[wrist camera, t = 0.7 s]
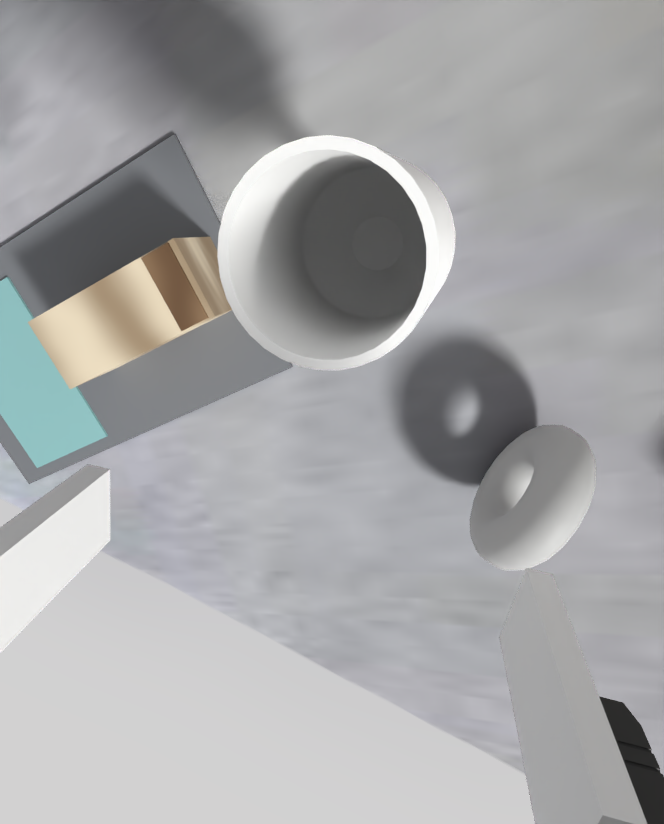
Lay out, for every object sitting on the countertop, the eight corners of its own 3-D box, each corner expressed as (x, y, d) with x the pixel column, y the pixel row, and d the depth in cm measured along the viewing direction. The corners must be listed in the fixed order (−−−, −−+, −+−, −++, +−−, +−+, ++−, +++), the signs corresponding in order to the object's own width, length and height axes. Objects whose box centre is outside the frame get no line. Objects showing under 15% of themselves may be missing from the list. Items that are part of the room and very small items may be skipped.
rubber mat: (-90, 307, 40) (-93, 307, 40) (175, 134, 33) (173, 134, 32) (31, 482, 45) (29, 483, 44) (292, 366, 37) (291, 367, 37)
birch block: (116, 368, 39) (68, 390, 34) (80, 309, 38) (25, 322, 32) (244, 303, 35) (213, 316, 30) (210, 236, 34) (172, 238, 29)
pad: (-61, 320, 40) (-64, 320, 40) (8, 277, 38) (6, 277, 38) (38, 467, 44) (37, 468, 43) (108, 435, 41) (106, 436, 41)
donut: (492, 521, 38) (515, 614, 29) (454, 499, 38) (465, 585, 29) (579, 419, 35) (637, 489, 25) (537, 394, 35) (580, 455, 25)
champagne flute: (424, 303, 34) (430, 446, 11) (329, 277, 34) (158, 367, 12) (456, 198, 31) (544, 121, 9) (353, 172, 32) (195, 38, 9)
